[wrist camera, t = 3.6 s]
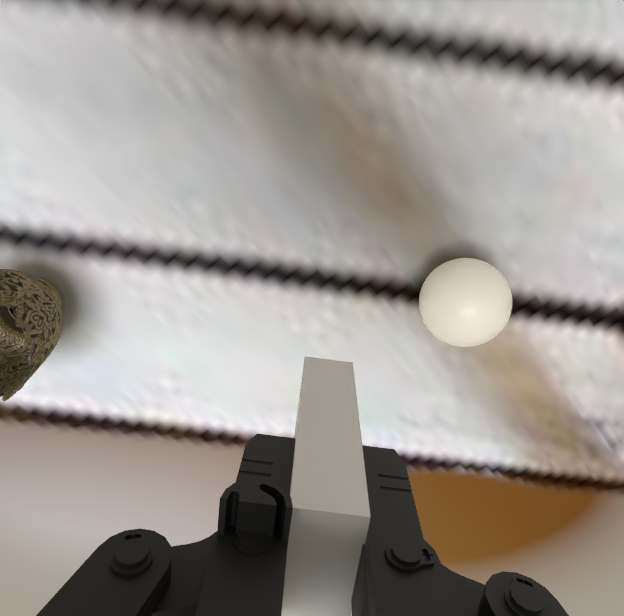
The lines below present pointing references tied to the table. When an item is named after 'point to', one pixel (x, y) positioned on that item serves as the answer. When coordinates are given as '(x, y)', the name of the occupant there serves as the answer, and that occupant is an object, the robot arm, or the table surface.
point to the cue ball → (465, 302)
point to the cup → (26, 327)
